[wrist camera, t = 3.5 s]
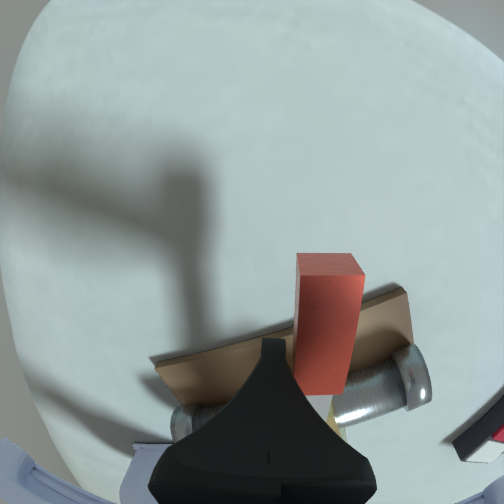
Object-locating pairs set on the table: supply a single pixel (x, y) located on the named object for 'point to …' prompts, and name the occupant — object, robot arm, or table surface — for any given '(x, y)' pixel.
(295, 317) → the lever
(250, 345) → the board
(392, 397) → the valve
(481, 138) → the table surface
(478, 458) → the calculator
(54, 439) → the table surface
